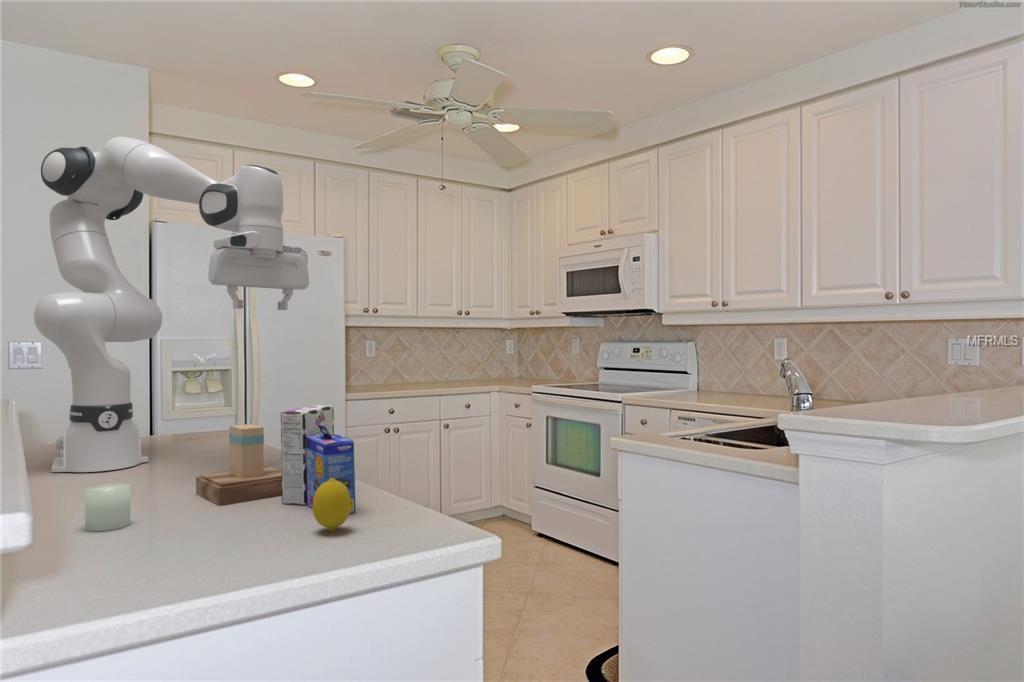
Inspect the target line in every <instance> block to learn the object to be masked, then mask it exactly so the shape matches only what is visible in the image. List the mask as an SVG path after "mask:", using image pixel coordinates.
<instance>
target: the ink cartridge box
mask: <svg viewBox="0 0 1024 682" xmlns="http://www.w3.org/2000/svg"><path fill="white" fill-rule="evenodd" d="M317 425H318V427H319V429H320V430H321V432H322V433H323V435H312V436H306V449H307V505H306V506H308V507H310V508H311V509H313V499H314V495H315V493H316V491H317V489H318V487H319V486H320V485H321V484H323V483H324V482H326V481H328V480H329V479H330V478H334V479H335V480H336V481H339V482H341V483H343V484H344V485H345V486H346V487H347V489H348V491H349V494H350V499H351V509H350V514H354V513H356V510H357V505H356V503H357V501H356V469H355V467H356V466H355V442H354V440H353V439H351V438H349V437H343V436H341V435H339V434H335V433H334V434H330V432H329V431H328V429H327V428H326V427H325V426H322V425H319V424H317ZM323 429H324V430H325V431H326V432H324V431H323Z"/></svg>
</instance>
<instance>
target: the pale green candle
mask: <svg viewBox="0 0 1024 682" xmlns="http://www.w3.org/2000/svg"><path fill="white" fill-rule="evenodd" d="M131 489H132V485H131V484H130V483H126V482H125V483H124V482H113V483H103V484H95V485H91V486H88V487H85V488H84V530H85V531H88V532H107V531H115V530H119V529H122V528H126V527H128V526H129V525H131Z"/></svg>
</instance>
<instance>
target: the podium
mask: <svg viewBox="0 0 1024 682" xmlns="http://www.w3.org/2000/svg"><path fill="white" fill-rule="evenodd" d="M195 494H196V495H198V496H200V497H201V498H204V499H206V500H207V501H210V502H211V503H213V504H215V505H217V506H226V505H231V504H236V503H237V504H238V503H242V502H243V503H244V502H249V501H255V500H261V499H267V498H273V497H282V469H277V468H275V467H272V466H269V465H267V466H264V465H263V476H257V477H250V478H243V479H241V478H239V477H236V476H234V475H231V474H229V470H228V471H221V472H213V473H205V474H204V473H203V474H200V476H198V477H195Z"/></svg>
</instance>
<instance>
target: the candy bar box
mask: <svg viewBox="0 0 1024 682" xmlns="http://www.w3.org/2000/svg"><path fill="white" fill-rule="evenodd" d="M334 414H335V413H334V405H327V404H313V405H308V406H302V407H299V408H294V409H291V410H286V411H281V412H280V444H281V445H280V447H281V448H280V449H281V450H280V451H281V471H282V495H281V504H283V505H287V506H289V505H292V506H296V505H297V506H308V505H307V449H306V436H312V435H323V433H322V432H321V430H320V429H319V427H318V425H317V424H319V425H322V426H325V427H326V428H327V429H328V431H329V432H330V434H335V428H334V427H335V423H334V422H335V421H334V419H335V418H334ZM323 431H324V432H326V431H325V430H324V429H323Z"/></svg>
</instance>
